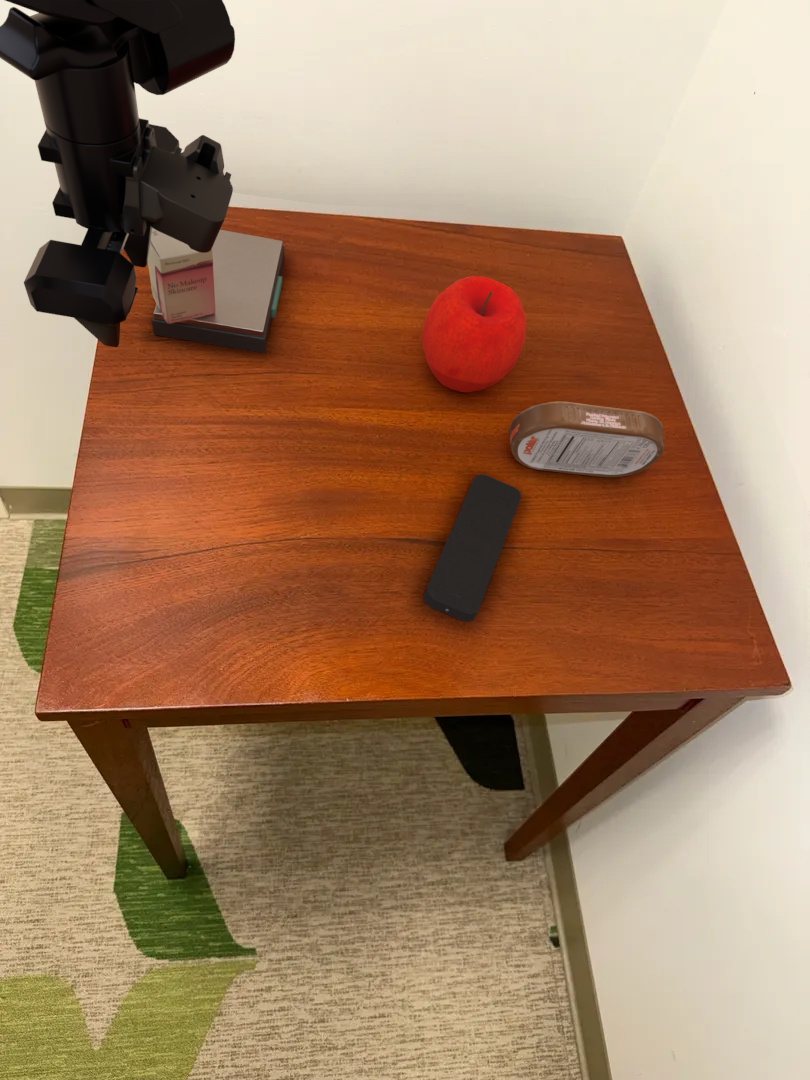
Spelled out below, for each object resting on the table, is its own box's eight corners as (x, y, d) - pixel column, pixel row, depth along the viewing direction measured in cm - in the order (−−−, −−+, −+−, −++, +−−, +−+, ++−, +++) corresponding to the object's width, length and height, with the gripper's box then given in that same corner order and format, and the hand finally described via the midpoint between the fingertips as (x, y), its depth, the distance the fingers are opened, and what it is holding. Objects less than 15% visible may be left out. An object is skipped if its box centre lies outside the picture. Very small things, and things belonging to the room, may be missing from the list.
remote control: (472, 480, 75) (419, 603, 66) (477, 469, 73) (424, 593, 65) (518, 500, 74) (472, 626, 66) (524, 489, 73) (477, 616, 65)
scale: (153, 335, 76) (150, 314, 74) (183, 242, 83) (181, 220, 81) (268, 354, 78) (269, 334, 75) (287, 261, 85) (288, 240, 82)
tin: (639, 461, 79) (677, 409, 72) (643, 487, 77) (684, 436, 70) (497, 446, 77) (523, 391, 69) (499, 472, 75) (526, 418, 68)
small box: (167, 326, 73) (158, 259, 67) (151, 295, 75) (141, 227, 68) (217, 314, 75) (214, 248, 69) (201, 284, 77) (196, 217, 70)
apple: (421, 419, 77) (447, 331, 66) (402, 346, 81) (424, 252, 71) (513, 415, 79) (553, 329, 69) (490, 344, 84) (524, 253, 73)
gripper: (190, 237, 45) (204, 408, 58) (244, 65, 54) (246, 246, 68) (-9, 200, 44) (52, 384, 57) (82, 31, 53) (116, 222, 66)
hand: (126, 303), depth 62 cm, fingers open, 9 cm apart
